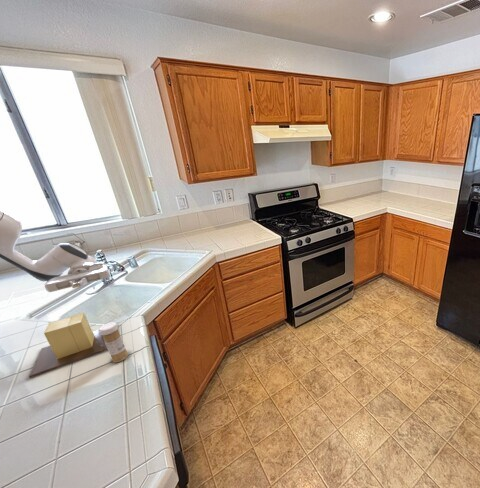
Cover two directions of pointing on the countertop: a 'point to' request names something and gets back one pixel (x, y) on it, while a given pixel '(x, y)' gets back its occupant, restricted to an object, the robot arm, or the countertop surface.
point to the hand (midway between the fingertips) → (76, 285)
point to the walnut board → (50, 362)
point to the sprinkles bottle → (113, 341)
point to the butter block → (61, 338)
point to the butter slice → (81, 331)
